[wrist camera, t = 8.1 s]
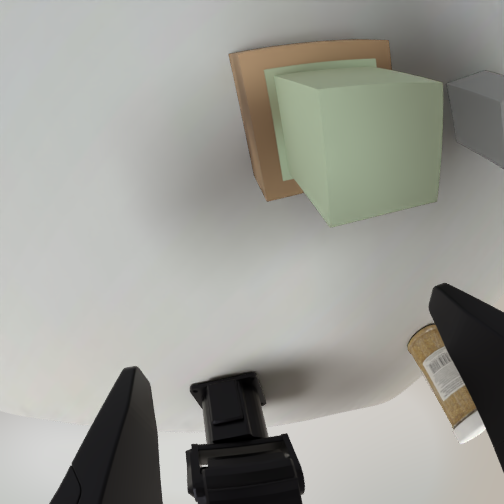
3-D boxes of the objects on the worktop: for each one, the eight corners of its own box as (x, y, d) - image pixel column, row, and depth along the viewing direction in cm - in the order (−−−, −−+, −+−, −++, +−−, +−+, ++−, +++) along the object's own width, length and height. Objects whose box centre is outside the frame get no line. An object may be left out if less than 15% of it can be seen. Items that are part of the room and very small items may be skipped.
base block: (365, 152, 18) (396, 174, 15) (253, 175, 18) (267, 202, 15) (355, 39, 14) (389, 40, 11) (228, 54, 14) (238, 53, 11)
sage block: (375, 155, 15) (436, 201, 11) (288, 172, 14) (329, 227, 10) (370, 66, 12) (442, 82, 8) (273, 75, 12) (317, 89, 8)
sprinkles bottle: (405, 355, 33) (455, 450, 22) (406, 334, 31) (465, 438, 20) (437, 338, 33) (491, 427, 22) (441, 316, 30) (504, 412, 20)
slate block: (492, 124, 18) (539, 147, 14) (456, 141, 19) (504, 169, 15) (484, 70, 16) (536, 86, 12) (445, 83, 16) (500, 102, 12)
